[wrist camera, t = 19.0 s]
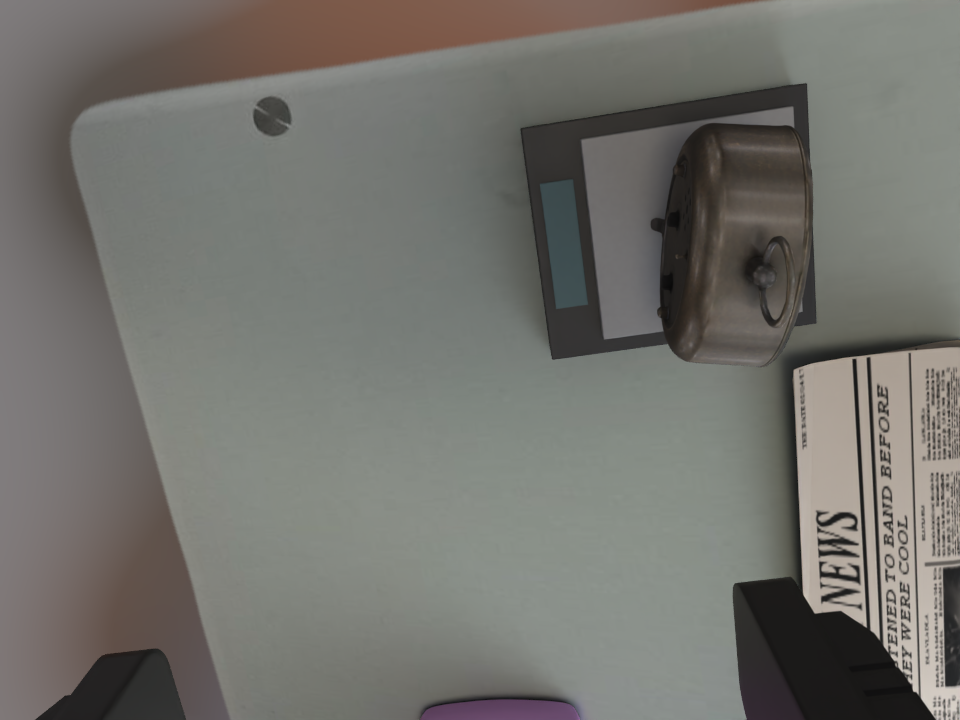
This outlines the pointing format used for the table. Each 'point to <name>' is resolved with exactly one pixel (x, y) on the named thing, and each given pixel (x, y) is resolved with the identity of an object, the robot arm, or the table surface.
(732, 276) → the alarm clock
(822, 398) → the newspaper
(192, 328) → the table surface
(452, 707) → the teapot
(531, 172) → the scale
